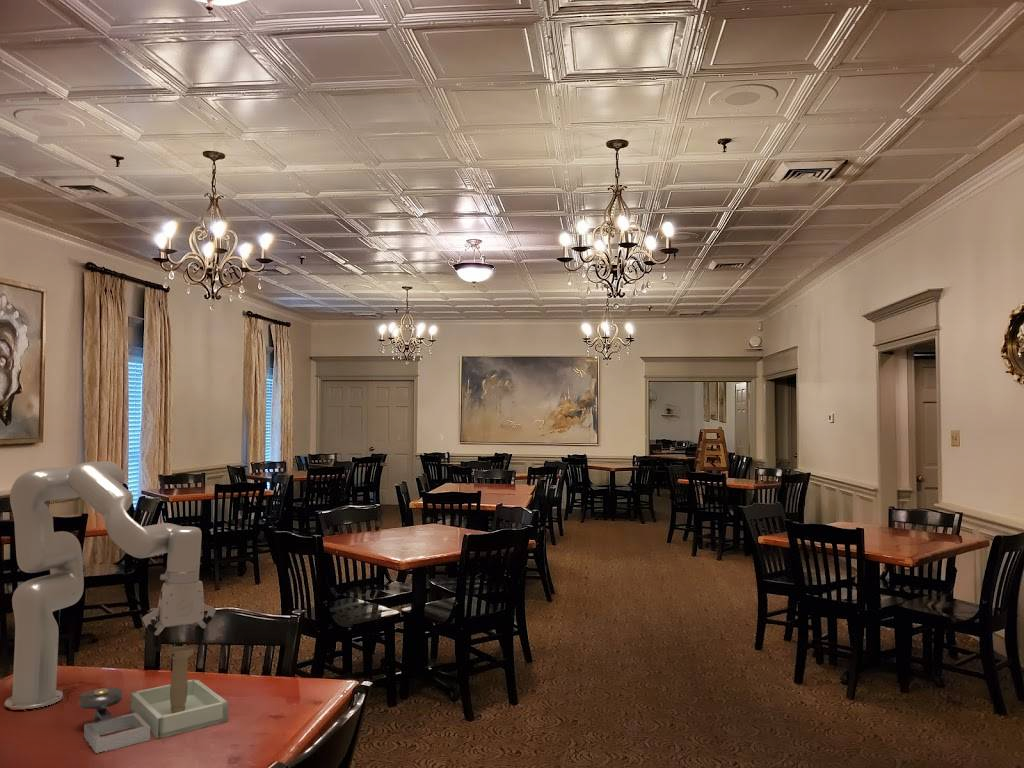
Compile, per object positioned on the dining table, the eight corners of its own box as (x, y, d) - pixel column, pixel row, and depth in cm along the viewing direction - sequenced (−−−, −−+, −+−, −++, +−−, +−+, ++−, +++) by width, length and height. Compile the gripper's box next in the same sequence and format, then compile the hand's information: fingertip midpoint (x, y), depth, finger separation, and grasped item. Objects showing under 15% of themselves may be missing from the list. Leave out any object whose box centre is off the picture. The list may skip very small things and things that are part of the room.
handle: (179, 716, 180) (182, 652, 181) (160, 712, 182) (163, 650, 184) (195, 710, 184) (198, 648, 186) (175, 706, 187) (178, 645, 188)
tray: (130, 710, 186) (130, 692, 186) (195, 696, 197) (196, 678, 197) (157, 739, 170) (158, 718, 170) (227, 721, 180) (228, 702, 181)
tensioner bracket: (73, 724, 177) (75, 689, 178) (124, 713, 185) (125, 679, 185) (95, 753, 162) (97, 715, 162) (149, 740, 169) (151, 703, 169)
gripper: (150, 583, 177) (145, 657, 176) (223, 576, 188) (218, 644, 187) (140, 578, 182) (135, 648, 181) (212, 571, 194) (207, 637, 193)
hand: (177, 646), depth 184 cm, fingers open, 9 cm apart
